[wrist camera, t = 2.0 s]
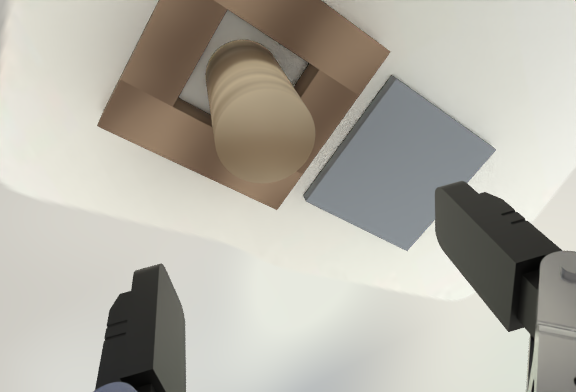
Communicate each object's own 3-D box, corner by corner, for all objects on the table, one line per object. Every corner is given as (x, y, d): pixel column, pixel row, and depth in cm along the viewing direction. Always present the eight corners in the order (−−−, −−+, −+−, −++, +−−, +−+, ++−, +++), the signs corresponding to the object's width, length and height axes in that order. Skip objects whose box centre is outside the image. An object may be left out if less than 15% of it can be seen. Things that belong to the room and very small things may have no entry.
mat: (303, 195, 32) (305, 201, 32) (391, 75, 29) (396, 78, 28) (402, 245, 37) (407, 251, 36) (489, 145, 33) (496, 149, 33)
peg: (202, 41, 26) (210, 93, 18) (278, 37, 27) (317, 86, 19) (208, 115, 28) (218, 188, 21) (279, 110, 29) (313, 178, 21)
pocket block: (102, 112, 27) (96, 125, 25) (202, -87, 23) (203, -87, 21) (272, 194, 32) (277, 210, 30) (378, 43, 28) (390, 51, 26)
